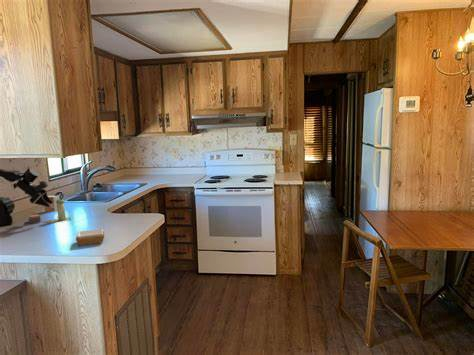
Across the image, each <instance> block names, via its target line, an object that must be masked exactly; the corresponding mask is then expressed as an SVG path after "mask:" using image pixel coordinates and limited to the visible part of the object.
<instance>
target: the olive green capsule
mask: <svg viewBox="0 0 474 355" xmlns="http://www.w3.org/2000/svg"><path fill="white" fill-rule="evenodd" d="M56 203H57V211H56V212H57V217H58V218H57V219H58V220H66V218H67V215H66V209H65V199H59V200H56Z"/></svg>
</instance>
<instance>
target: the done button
mask: <svg viewBox="0 0 474 355" xmlns="http://www.w3.org/2000/svg"><path fill="white" fill-rule="evenodd" d="M38 215H39V214H32V215H30V216H29V217H30V218H37V217H39V216H38Z"/></svg>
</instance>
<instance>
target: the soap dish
mask: <svg viewBox="0 0 474 355" xmlns="http://www.w3.org/2000/svg"><path fill="white" fill-rule="evenodd" d="M75 237H76V238H75V241H76V243H77V245H78V246H79V245H82V246H87V245H86V244H89V245H93V244H92V243H96V244H99V243H98V242H102V243H103V242H104V240H105V230H104V229H103V228H101V229H99V228H98V229H91V230H80V231H77V233H76V236H75Z"/></svg>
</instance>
